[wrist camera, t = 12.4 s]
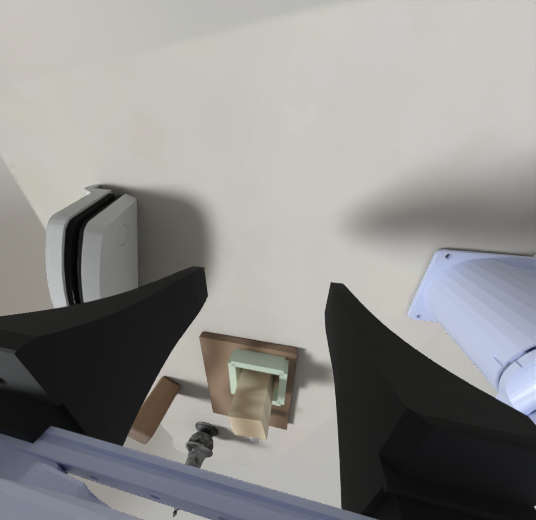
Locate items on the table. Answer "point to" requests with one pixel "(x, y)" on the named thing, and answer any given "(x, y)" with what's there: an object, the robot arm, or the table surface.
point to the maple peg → (252, 404)
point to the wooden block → (153, 410)
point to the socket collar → (261, 364)
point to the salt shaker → (200, 446)
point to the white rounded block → (92, 248)
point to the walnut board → (217, 371)
